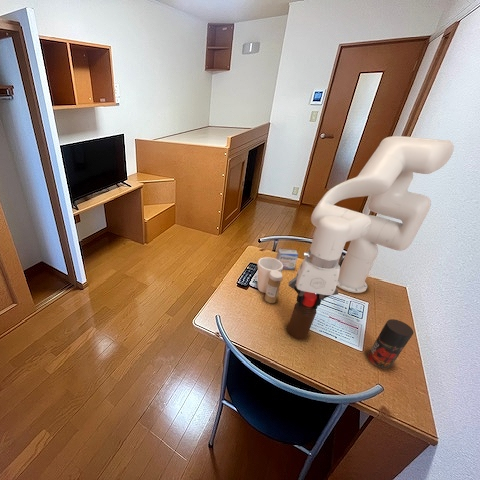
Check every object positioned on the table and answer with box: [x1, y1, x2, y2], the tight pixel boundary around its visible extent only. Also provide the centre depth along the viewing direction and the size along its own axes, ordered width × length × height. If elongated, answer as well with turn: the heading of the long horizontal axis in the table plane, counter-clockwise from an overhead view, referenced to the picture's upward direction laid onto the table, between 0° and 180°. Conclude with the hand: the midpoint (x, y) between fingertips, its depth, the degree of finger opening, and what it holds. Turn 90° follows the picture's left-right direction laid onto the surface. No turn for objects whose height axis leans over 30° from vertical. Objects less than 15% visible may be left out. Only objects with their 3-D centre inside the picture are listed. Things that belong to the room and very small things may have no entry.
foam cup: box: [256, 256, 284, 294], centre depth 108 cm, size 10×9×13 cm
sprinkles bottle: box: [263, 271, 283, 304], centre depth 102 cm, size 5×5×13 cm
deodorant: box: [367, 318, 414, 370], centre depth 77 cm, size 6×6×15 cm
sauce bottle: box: [286, 301, 317, 341], centre depth 86 cm, size 6×6×18 cm
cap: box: [302, 292, 317, 307], centre depth 82 cm, size 4×4×3 cm
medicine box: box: [275, 248, 299, 270], centre depth 121 cm, size 8×4×9 cm, turn 81°
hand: (307, 304), depth 83 cm, fingers closed on cap, 3 cm apart
